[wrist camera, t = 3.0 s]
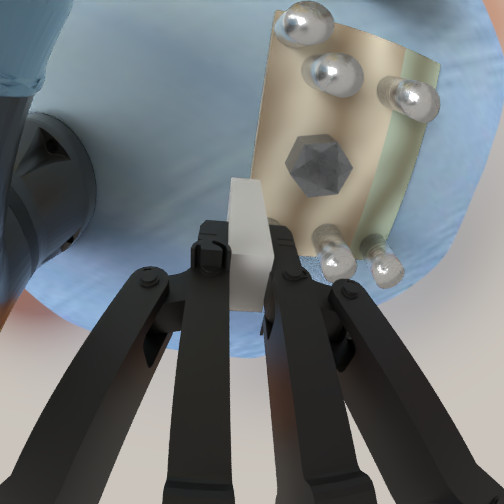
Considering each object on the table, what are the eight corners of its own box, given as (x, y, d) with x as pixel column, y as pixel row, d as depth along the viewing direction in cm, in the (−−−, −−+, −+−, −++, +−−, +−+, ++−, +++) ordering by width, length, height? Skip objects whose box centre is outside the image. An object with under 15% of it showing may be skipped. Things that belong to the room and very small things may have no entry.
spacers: (241, 247, 28) (243, 282, 24) (276, 10, 16) (288, -4, 12) (378, 257, 30) (396, 288, 26) (440, 64, 18) (476, 72, 14)
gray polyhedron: (286, 186, 25) (291, 199, 23) (282, 137, 22) (287, 146, 20) (342, 180, 25) (352, 192, 23) (342, 133, 22) (353, 141, 20)
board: (240, 244, 30) (241, 251, 29) (274, 12, 17) (276, 10, 16) (373, 254, 31) (377, 261, 30) (433, 63, 18) (440, 64, 18)
